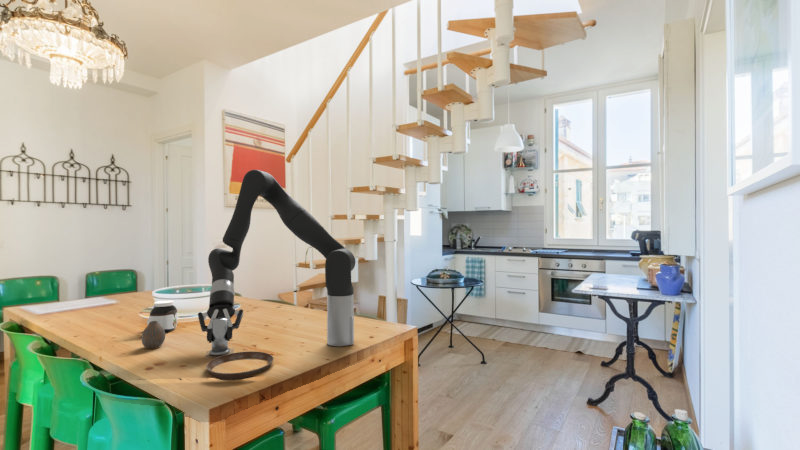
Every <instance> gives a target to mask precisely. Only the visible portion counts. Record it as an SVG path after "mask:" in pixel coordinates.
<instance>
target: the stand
mask: <svg viewBox="0 0 800 450" xmlns="http://www.w3.org/2000/svg"><path fill="white" fill-rule="evenodd" d="M234 351H235V348H230V353H229V354H231V353H235V352H234ZM217 357H220V356H210V350H207V351H206V353H205V356H204V360H208V359H215V358H217Z"/></svg>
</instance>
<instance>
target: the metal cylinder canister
mask: <svg viewBox="0 0 800 450" xmlns="http://www.w3.org/2000/svg"><path fill="white" fill-rule="evenodd" d="M227 331H228V318H227V317H218V318H213V319H212V343H211V349H210V350H209V351H210V356H223V355H227V354H229V353H230V349H231V348H229V345H228V344H229V341H227Z"/></svg>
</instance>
